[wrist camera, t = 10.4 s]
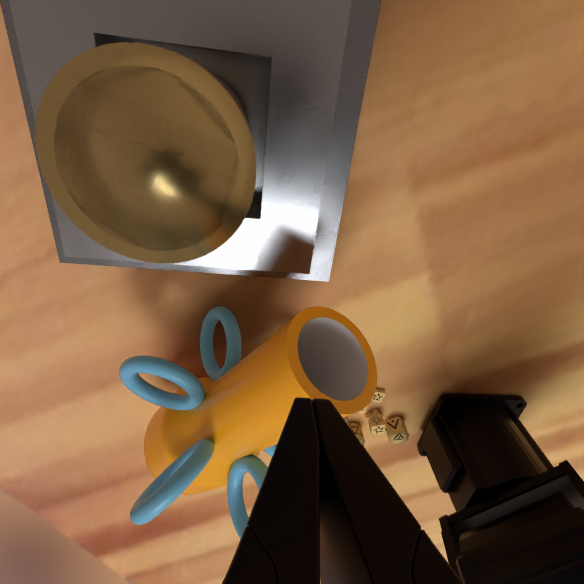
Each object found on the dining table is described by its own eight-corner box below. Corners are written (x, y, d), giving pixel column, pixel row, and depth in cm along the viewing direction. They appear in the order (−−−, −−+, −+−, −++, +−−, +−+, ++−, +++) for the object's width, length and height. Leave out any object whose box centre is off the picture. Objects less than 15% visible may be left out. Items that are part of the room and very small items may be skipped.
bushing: (260, 65, 15) (261, 56, 8) (255, 192, 18) (252, 268, 11) (127, 50, 14) (6, 28, 8) (142, 184, 17) (62, 258, 10)
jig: (385, -51, 14) (412, -79, 11) (326, 274, 21) (335, 302, 18) (-15, -120, 12) (-87, -170, 10) (67, 255, 20) (36, 283, 17)
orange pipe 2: (93, 358, 23) (161, 198, 12) (241, 347, 29) (370, 234, 19) (107, 596, 18) (240, 660, 8) (282, 521, 24) (488, 500, 14)
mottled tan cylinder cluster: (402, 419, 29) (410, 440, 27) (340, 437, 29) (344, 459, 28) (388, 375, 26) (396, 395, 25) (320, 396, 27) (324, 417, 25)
